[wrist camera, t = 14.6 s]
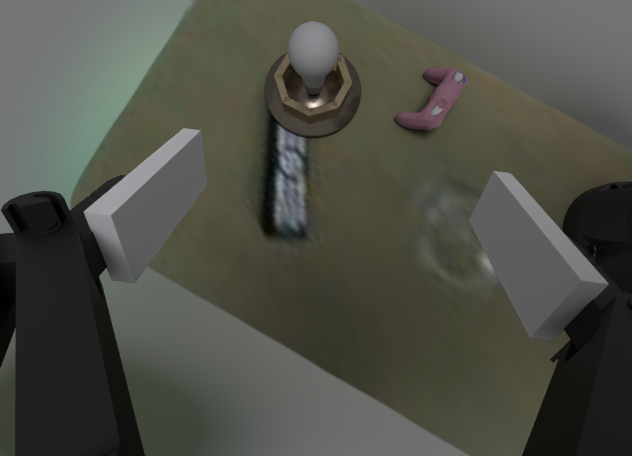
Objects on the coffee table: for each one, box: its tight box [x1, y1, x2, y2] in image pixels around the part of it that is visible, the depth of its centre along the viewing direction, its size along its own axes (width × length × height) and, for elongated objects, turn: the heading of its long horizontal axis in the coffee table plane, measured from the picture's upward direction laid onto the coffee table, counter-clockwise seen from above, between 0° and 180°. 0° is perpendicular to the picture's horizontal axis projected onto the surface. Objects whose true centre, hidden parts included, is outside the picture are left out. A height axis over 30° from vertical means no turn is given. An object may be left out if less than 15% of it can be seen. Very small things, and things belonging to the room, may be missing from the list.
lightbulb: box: [288, 21, 339, 95], centre depth 40 cm, size 6×6×11 cm
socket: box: [265, 52, 361, 138], centre depth 45 cm, size 14×14×4 cm
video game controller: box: [395, 67, 468, 131], centre depth 44 cm, size 10×5×7 cm, turn 147°
